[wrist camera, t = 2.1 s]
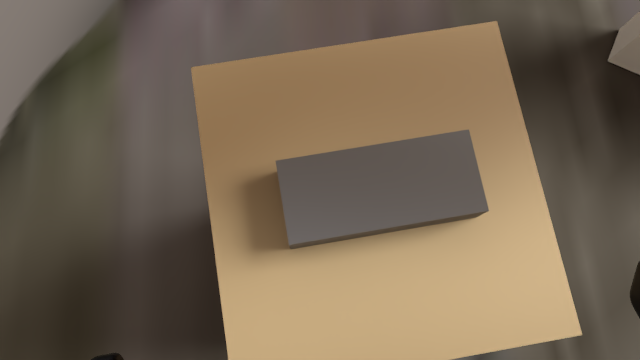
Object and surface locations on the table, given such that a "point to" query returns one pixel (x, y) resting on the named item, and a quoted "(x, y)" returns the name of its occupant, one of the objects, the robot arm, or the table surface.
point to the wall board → (627, 46)
